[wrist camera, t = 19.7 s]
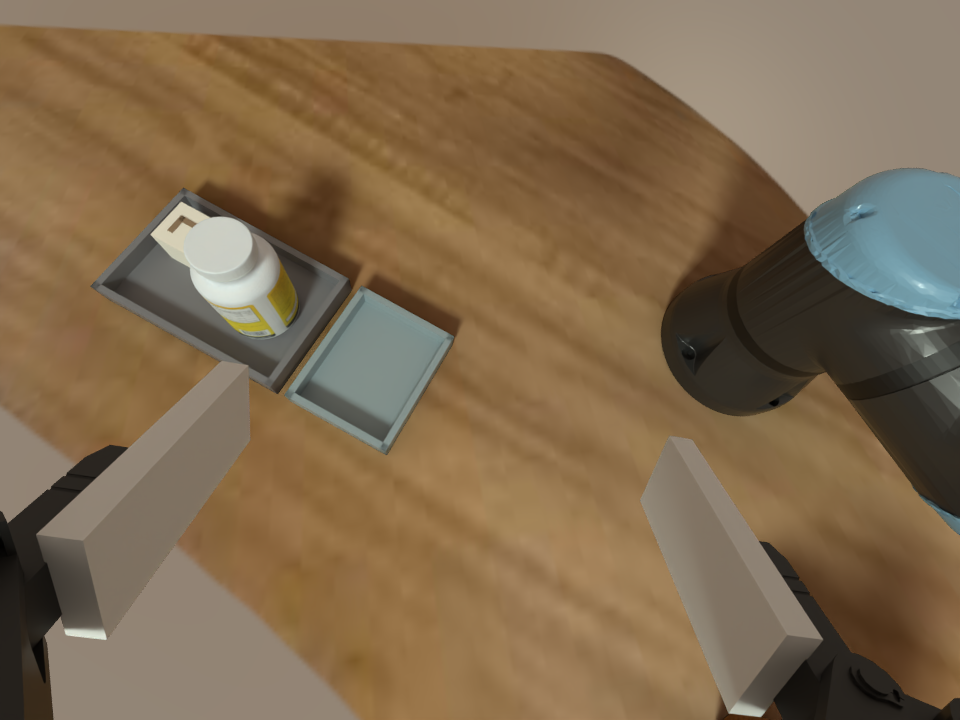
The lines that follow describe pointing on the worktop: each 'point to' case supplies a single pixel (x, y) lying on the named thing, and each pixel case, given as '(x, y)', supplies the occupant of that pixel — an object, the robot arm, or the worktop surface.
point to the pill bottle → (241, 277)
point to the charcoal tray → (188, 316)
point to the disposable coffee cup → (743, 717)
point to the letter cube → (177, 230)
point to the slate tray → (371, 369)
